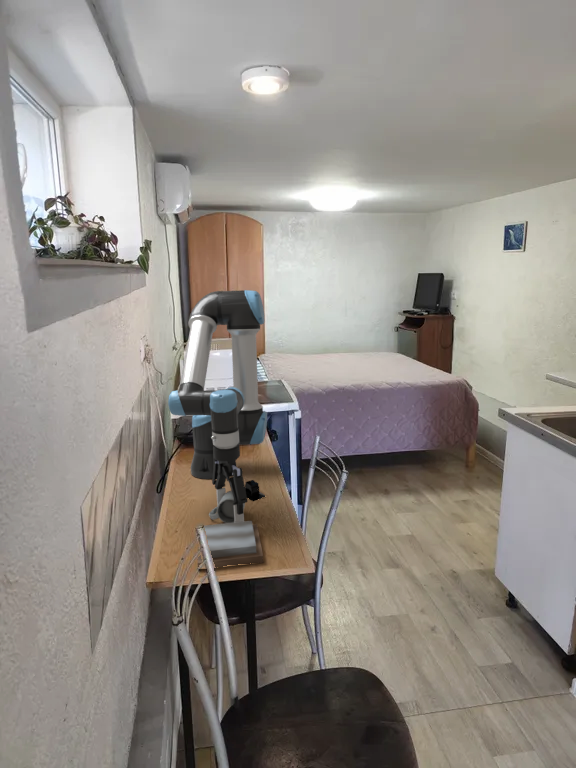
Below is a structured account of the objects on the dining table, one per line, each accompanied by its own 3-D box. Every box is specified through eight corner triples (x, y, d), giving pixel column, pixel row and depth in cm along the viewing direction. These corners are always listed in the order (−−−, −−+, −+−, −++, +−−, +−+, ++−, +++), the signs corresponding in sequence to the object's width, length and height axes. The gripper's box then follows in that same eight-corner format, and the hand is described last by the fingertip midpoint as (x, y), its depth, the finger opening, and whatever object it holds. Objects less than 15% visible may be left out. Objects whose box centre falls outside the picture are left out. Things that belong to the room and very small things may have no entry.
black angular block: (272, 499, 158) (271, 485, 157) (252, 505, 154) (252, 492, 153) (251, 486, 168) (251, 473, 167) (232, 492, 164) (232, 479, 163)
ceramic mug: (246, 510, 150) (245, 487, 148) (243, 523, 142) (242, 499, 140) (211, 511, 150) (209, 487, 148) (207, 524, 142) (205, 500, 140)
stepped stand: (199, 536, 135) (198, 523, 135) (257, 530, 138) (256, 517, 137) (198, 570, 120) (196, 555, 119) (263, 562, 122) (262, 548, 121)
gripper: (197, 437, 148) (202, 505, 152) (233, 459, 129) (237, 535, 134) (220, 432, 152) (224, 498, 157) (257, 452, 133) (261, 527, 138)
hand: (230, 515), depth 145 cm, fingers closed on ceramic mug, 10 cm apart
